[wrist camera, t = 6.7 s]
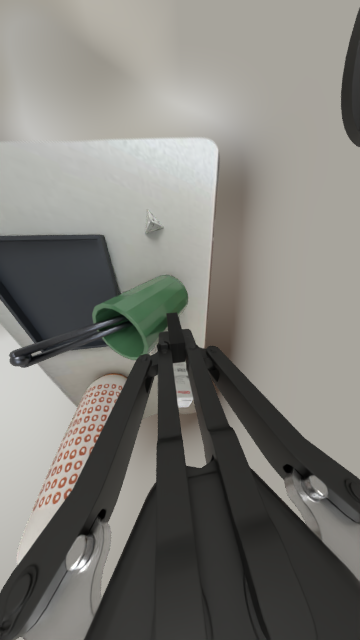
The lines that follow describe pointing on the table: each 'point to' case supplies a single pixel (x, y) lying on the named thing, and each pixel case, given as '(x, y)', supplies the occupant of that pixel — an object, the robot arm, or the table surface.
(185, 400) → the ink box
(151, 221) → the tetrahedral die
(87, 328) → the tongs
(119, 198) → the table surface
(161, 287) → the cup
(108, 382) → the vase
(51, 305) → the tray
